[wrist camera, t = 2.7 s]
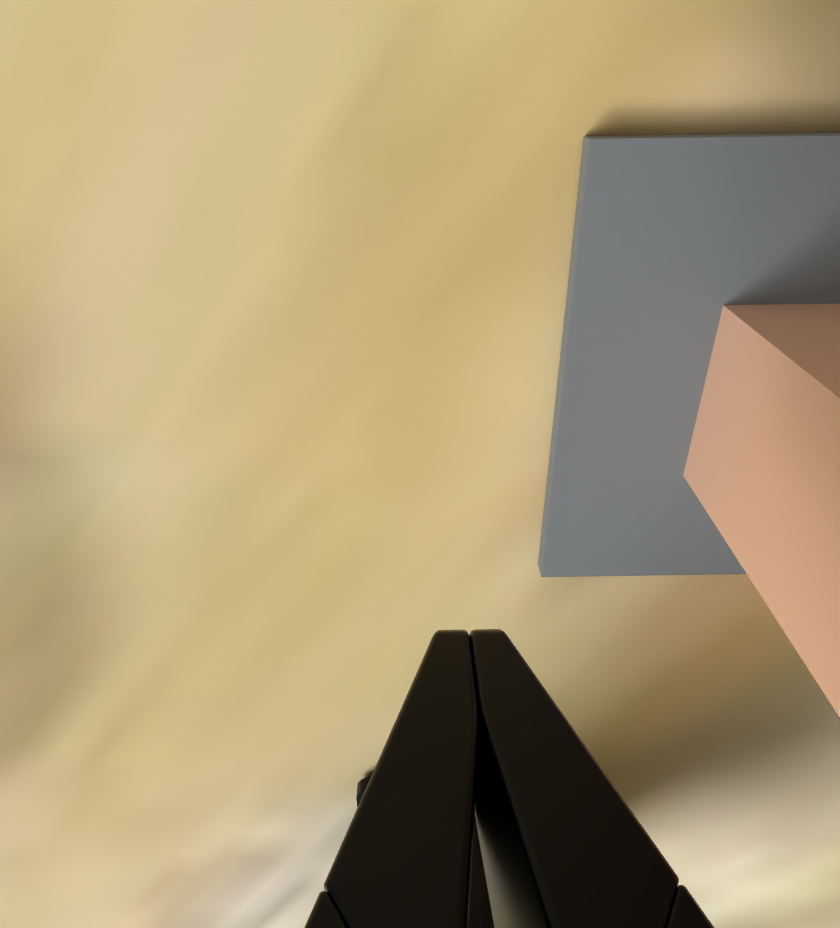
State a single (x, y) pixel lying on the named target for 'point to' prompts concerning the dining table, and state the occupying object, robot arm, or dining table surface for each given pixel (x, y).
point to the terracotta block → (778, 466)
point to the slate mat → (670, 329)
